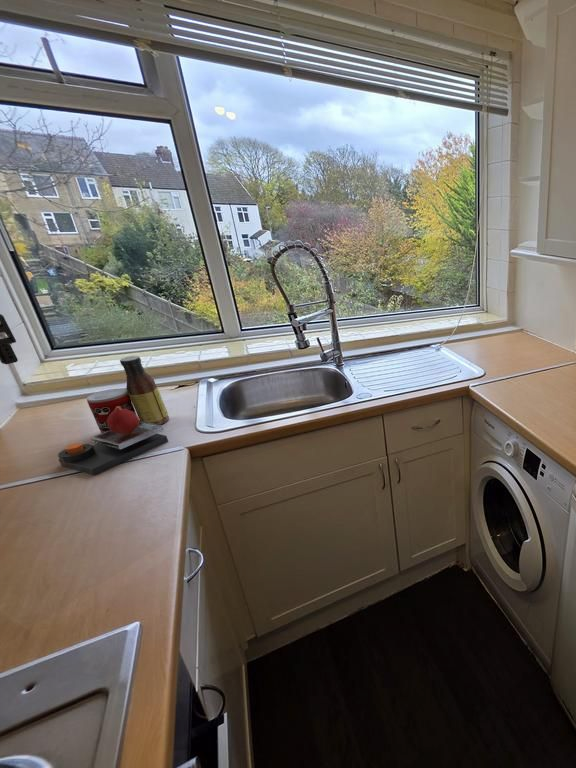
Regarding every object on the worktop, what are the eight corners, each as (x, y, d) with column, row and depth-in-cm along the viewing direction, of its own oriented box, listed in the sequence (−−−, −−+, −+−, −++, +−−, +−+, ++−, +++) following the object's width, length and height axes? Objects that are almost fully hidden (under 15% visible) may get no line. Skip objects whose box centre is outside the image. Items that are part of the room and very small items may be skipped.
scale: (93, 477, 92) (87, 464, 91) (58, 466, 96) (52, 454, 94) (168, 441, 107) (164, 430, 105) (136, 433, 110) (131, 422, 109)
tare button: (72, 455, 95) (69, 450, 94) (64, 453, 95) (62, 447, 95) (87, 449, 97) (84, 444, 96) (79, 447, 98) (77, 441, 97)
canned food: (98, 432, 111) (82, 395, 106) (135, 421, 117) (122, 386, 112) (106, 440, 107) (90, 403, 102) (145, 428, 113) (131, 392, 108)
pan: (119, 449, 96) (117, 444, 96) (92, 442, 99) (89, 437, 99) (164, 430, 105) (162, 425, 105) (137, 424, 108) (135, 419, 107)
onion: (107, 437, 101) (95, 409, 97) (134, 427, 106) (123, 399, 102) (121, 442, 99) (109, 413, 95) (148, 431, 104) (137, 403, 100)
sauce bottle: (158, 416, 119) (134, 352, 111) (175, 418, 118) (153, 354, 110) (134, 427, 113) (108, 360, 106) (153, 429, 112) (127, 362, 104)
